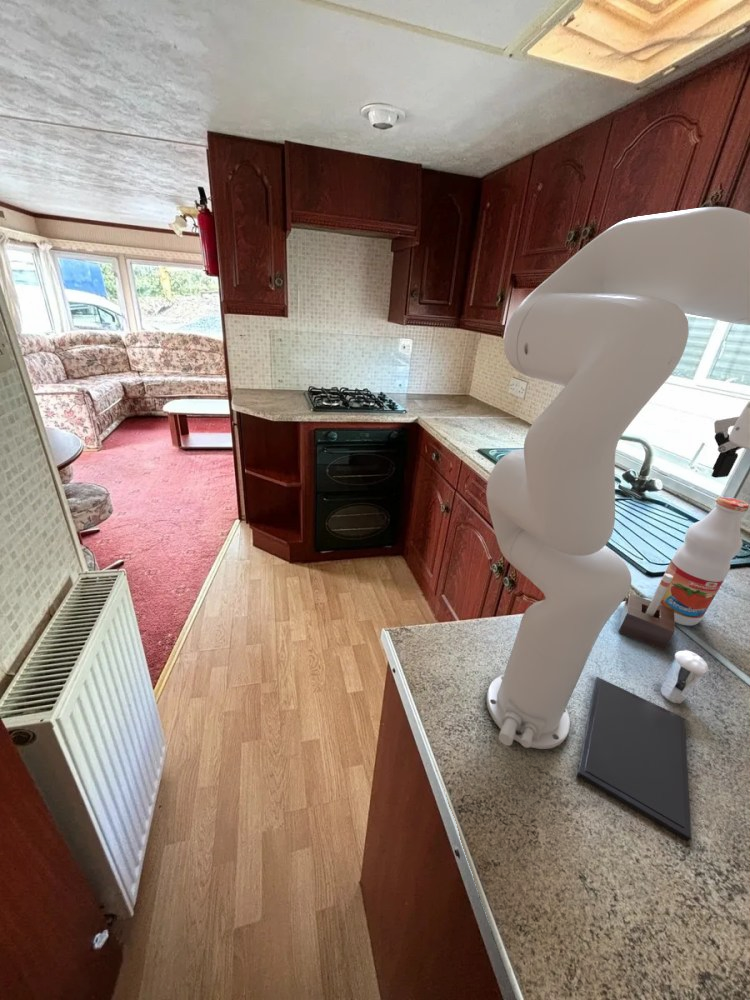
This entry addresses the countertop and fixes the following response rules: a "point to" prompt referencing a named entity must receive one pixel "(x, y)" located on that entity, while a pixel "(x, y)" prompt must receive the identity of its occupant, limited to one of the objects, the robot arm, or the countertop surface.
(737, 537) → the fruit juice
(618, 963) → the countertop surface
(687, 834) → the tablet
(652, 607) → the stylus
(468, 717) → the countertop surface
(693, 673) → the milkshake
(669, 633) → the pen stand
